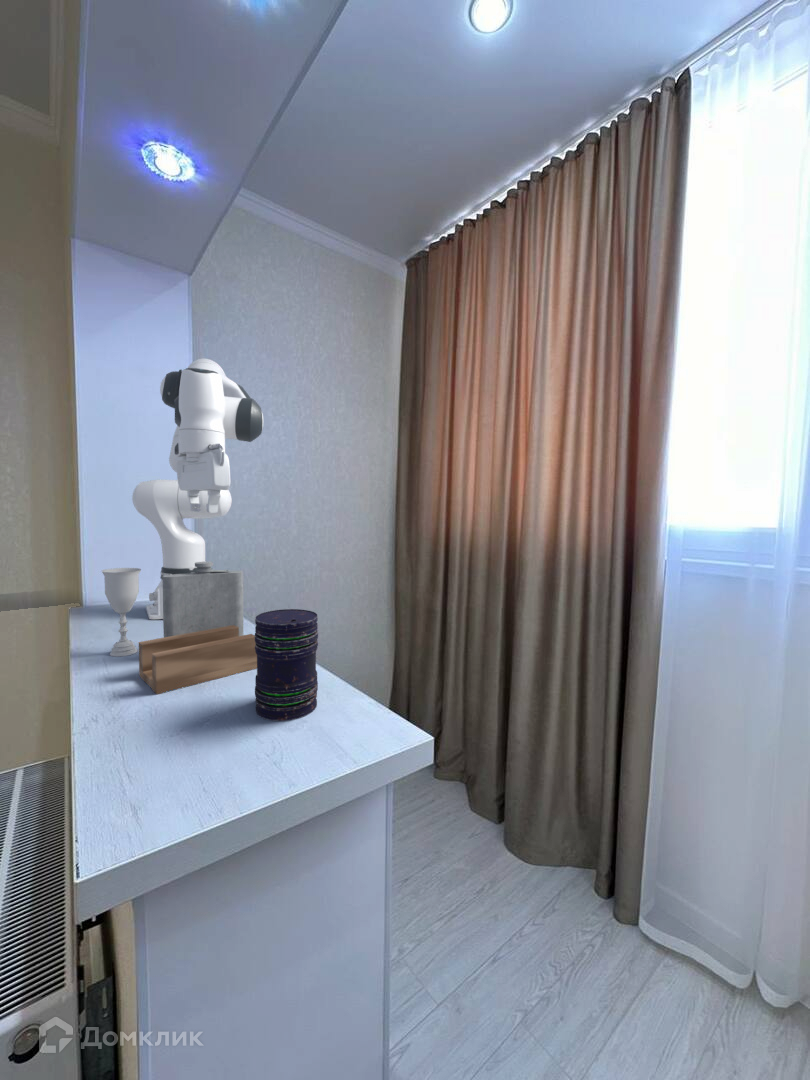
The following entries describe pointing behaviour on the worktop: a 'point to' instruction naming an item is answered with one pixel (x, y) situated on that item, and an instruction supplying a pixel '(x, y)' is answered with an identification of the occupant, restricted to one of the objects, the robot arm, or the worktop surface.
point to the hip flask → (202, 600)
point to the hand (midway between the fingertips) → (203, 512)
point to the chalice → (122, 602)
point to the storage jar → (286, 664)
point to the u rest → (195, 657)
